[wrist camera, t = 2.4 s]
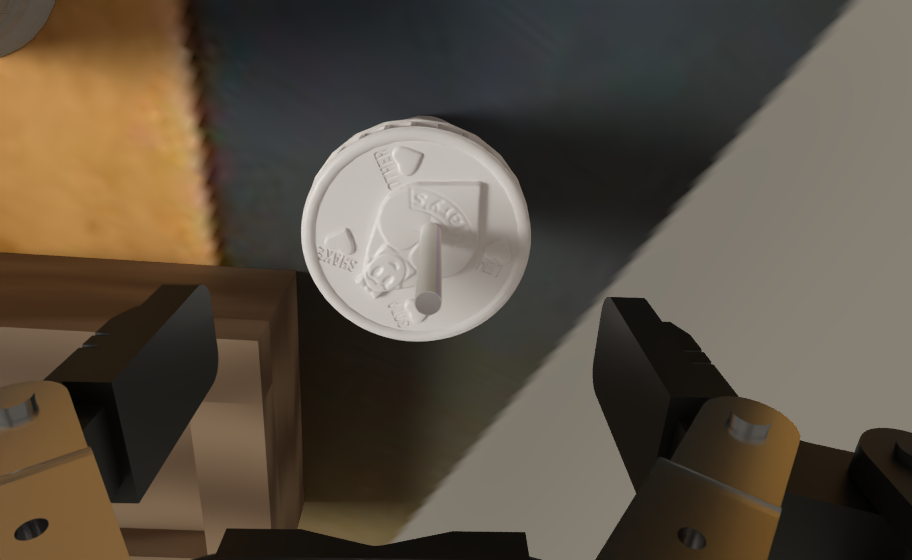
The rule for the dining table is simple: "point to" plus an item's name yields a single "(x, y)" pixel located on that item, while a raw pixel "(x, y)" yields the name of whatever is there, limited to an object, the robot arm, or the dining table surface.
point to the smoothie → (416, 230)
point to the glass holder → (21, 22)
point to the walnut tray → (221, 412)
